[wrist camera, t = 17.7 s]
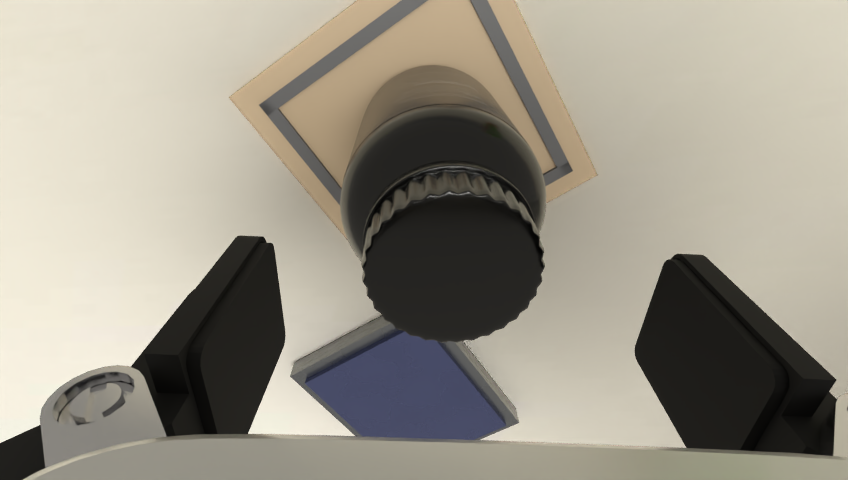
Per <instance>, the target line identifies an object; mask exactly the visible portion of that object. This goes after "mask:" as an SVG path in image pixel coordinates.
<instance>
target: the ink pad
mask: <svg viewBox="0 0 848 480" xmlns="http://www.w3.org/2000/svg"><path fill="white" fill-rule="evenodd" d="M290 377H291V378H293V379H294V380H295V381H296V382H297V383H298V384H299V385H300V386H301V387H302V388H304V389H305V390H306V391H307V392H308V393H309V394H310V395H311V396H312V397H313V398H314V399H316V400H317V401H318V402H319V403H320V404H321V405H322V406H323V407H324V408H325V409H327V410H328V411H329V412H330V413H331V414H332V415H333V416H334V417H335V418H336V419H338V420H339V421H340V422H341V423H342V424H343V425H344V426H345V427H346V428H347V429H349V430H350V431H351V432H352V433H353V434H354V435H355V436H360V437H393V438H427V439H458V440H480V439H482V438H485V437H487V436H489V435H492V434H494V433H496V432H499V431H501V430H503V429H506V428H508V427H510V426H513V425H515V424H517V423H519V420H518V416H517V412H516V408H515V407H514V406H513V405H512V403H511V402H510V401H509V399H508V398H507V397H506V396H505V394H504V393H503V392H502V391H501V389H500V388H499V387H498V386H497V384H496V383H495V382H494V380H493V379H492V378H491V377H490V375H489V374H488V373H487V372H486V370H485V369H484V368H483V366H482V365H481V364H480V363H479V361H478V360H477V359H476V358H475V356H474V355H473V354H472V353H471V351H470V350H469V349H468V347H467V346H466V345H465V344H464V342H463V341H461V342H452V341H447V342H442V343H441V342H438V341H435V340H424V339H422V338H420V337H418V336H410V335H409V334H407V333H406V332H405V331H403V330H399V329H396V328H395V327H394V325H393V324H392V323H390V322H388V321H386V320H384V318H383V316H380V317H378V318H376V319H375V320H373V321H371V322H369V323H367V324H365V325H363V326H362V327H360V328H358V329H356V330H354V331H352V332H350V333H349V334H347V335H345V336H343V337H341V338H339V339H337V340H336V341H334V342H332V343H330V344H328V345H326V346H324V347H322V348H321V349H319V350H317V351H315V352H313V353H311V354H309V355H308V356H306V357H304V358H302V359H300V360H298V361H296V362H295V363H294V366H293V369H292V372H291V375H290Z"/></svg>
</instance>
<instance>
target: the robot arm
mask: <svg viewBox="0 0 848 480" xmlns="http://www.w3.org/2000/svg"><path fill="white" fill-rule="evenodd" d="M284 343H285V326H284V319H283V311H282V304H281V296H280V289H279V281H278V274H277V266H276V259H275V251H274V246H273V244H272V243H266V240H265V238H264V237H258V236H237V237H236V238H235V240H234V241H233V242H232V243H231V245H230V246H229V247H228V248H227V250H226V251H225V252H224V253H223V255H222V256H221V257H220V258H219V260H218V261H217V262H216V263H215V265H214V266H213V267H212V268H211V270H210V271H209V272H208V274H207V275H206V276H205V277H204V279H203V280H202V281H201V282H200V284H199V285H198V286H197V287H196V289H194V290H193V291H192V292H191V293H190V294H189V295H188V296H187V297H186V299H185V300H184V301H183V302H182V304H181V305H180V306H179V307H178V309H177V310H176V311H175V312H174V314H173V315H172V316H171V317H170V319H169V320H168V321H167V322H166V324H165V325H164V326H163V327H162V329H161V330H160V331H159V332H158V334H157V335H156V336H155V337H154V339H153V340H152V341H151V342H150V344H149V345H148V346H147V347H146V349H145V350H144V351H143V352H142V354H141V355H140V356H139V357H138V359H137V360H136V361H135V362H134V364H133V365H132V366H131V367H129V366H120V365H117V366H108V367H102V368H98V369H95V370H92V371H88V372H86V373H84V374H82V375H79V376H77V377H75V378H73V379H72V380H70V381H68V382H67V383H65V384H64V385H62V386H61V387H59V388H58V389H57V390H56V391H55V392H54V393H53V394H52V395H51V396H50V397H49V398H48V399H47V401H46V403H45V404H44V406H43V407H42V410H41V415H40V424H41V425H39V426H37V427H35V428H33V429H30V430H28V431H26V432H24V433H22V434H19V435H17V436H15V437H13V438H11V439H8V440H6V441H4V442H2V443H0V480H848V393H846V394H844V395H842V396H839V397H838V399H836V398H835V397H834V396H833V395H832V394H831V393H830V392H829V390H830V389H831V387H832V386H833V384H834V383H835V381H836V379H835V378H834V377H833V376H832V375H831V374H830V373H829V372H827V371H826V370H825V369H824V368H823V367H822V366H821V365H820V364H819V363H818V362H817V361H816V360H815V359H814V358H813V357H812V356H810V355H809V354H808V353H807V352H806V351H805V350H804V349H803V348H802V347H801V346H800V345H799V344H798V343H797V342H796V341H795V340H793V339H792V338H791V337H790V336H789V335H788V334H787V333H786V332H785V331H784V330H783V329H782V328H781V327H780V326H779V325H778V324H776V323H775V322H774V321H773V320H772V319H771V318H770V317H769V316H768V315H767V314H766V313H765V312H764V311H763V310H762V309H761V308H759V307H758V306H757V305H756V304H755V303H754V302H753V301H752V300H751V299H750V298H749V297H748V296H747V295H746V294H745V293H744V292H742V291H741V290H740V289H739V288H738V287H737V286H736V285H735V284H734V283H733V282H732V281H731V280H730V279H729V278H728V277H727V276H725V275H724V274H723V273H722V272H721V271H720V270H719V269H718V268H717V267H716V266H715V265H714V264H713V263H712V262H711V261H710V260H708V259H707V258H706V257H705V256H703V255H691V254H676V255H674V256H673V257H672V258H671V260H667V261H666V262H665V263H664V265H663V267H662V270H661V273H660V276H659V279H658V282H657V285H656V288H655V290H654V293H653V296H652V299H651V302H650V305H649V308H648V311H647V313H646V316H645V319H644V322H643V325H642V328H641V331H640V334H639V336H638V339H637V342H636V345H635V356H636V360H637V362H638V364H639V365H640V367H641V369H642V371H643V372H644V374H645V376H646V378H647V379H648V381H649V383H650V385H651V386H652V388H653V390H654V392H655V393H656V395H657V397H658V399H659V400H660V402H661V404H662V406H663V407H664V409H665V411H666V413H667V414H668V416H669V418H670V420H671V421H672V423H673V425H674V427H675V428H676V430H677V432H678V434H679V435H680V437H681V439H682V441H683V442H684V444H685V446H686V448H671V447H647V446H623V445H598V444H571V443H544V442H516V441H487V440H458V439H427V438H393V437H360V436H327V435H285V434H248V432H249V429H250V427H251V425H252V422H253V420H254V417H255V415H256V412H257V410H258V408H259V405H260V403H261V400H262V398H263V395H264V393H265V391H266V388H267V386H268V383H269V381H270V378H271V376H272V374H273V371H274V369H275V366H276V364H277V361H278V359H279V357H280V354H281V352H282V349H283V347H284Z"/></svg>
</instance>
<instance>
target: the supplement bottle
mask: <svg viewBox="0 0 848 480" xmlns="http://www.w3.org/2000/svg"><path fill="white" fill-rule="evenodd" d="M545 211H546V187H545V181H544V176H543V173H542V170H541V167H540V165H539V163H538V161H537V158H536V156H535V155H534V153H533V151H532V149H531V148H530V146H529V144H528V143H527V142H526V140H525V139H524V138H523V136H522V135H521V134H520V132H519V131H518V130H517V128H516V127H515V126H514V124H513V123H512V122H511V120H510V119H509V118H508V116H507V115H506V114H505V112H504V111H503V109H502V108H501V107H500V105H499V104H498V103H497V101H496V100H495V99H494V98H493V96H492V95H491V94H490V93H489V91H488V90H487V89H486V88H485V87H484V86H483V85H482V84H481V83H480V82H478V81H477V80H476V79H474V78H473V77H472V76H470V75H468V74H466V73H464V72H462V71H460V70H457V69H454V68H451V67H446V66H439V65H427V66H419V67H415V68H412V69H409V70H406V71H404V72H402V73H400V74H398V75H396V76H394V77H393V78H391V79H390V80H389V81H388V82H386V83H385V84H384V85H383V86H382V87H381V88H380V89H379V90H378V91H377V93H376V94H375V95H374V97H373V98H372V100H371V101H370V103H369V105H368V107H367V109H366V111H365V114H364V116H363V119H362V122H361V125H360V128H359V131H358V134H357V138H356V141H355V144H354V147H353V150H352V153H351V156H350V159H349V163H348V166H347V169H346V172H345V175H344V179H343V184H342V189H341V199H340V212H341V219H342V224H343V228H344V231H345V234H346V237H347V239H348V242H349V244H350V246H351V248H352V249H353V251H354V252H355V254H356V256H357V257H358V258H359V259H360V261H361V262H362V268H363V277H362V279H363V282H364V284H365V286H366V287H367V296H368V297H369V298H370V299H371V300H372V301H373V305H374V308H375V309H376V310H377V311H379V312H380V313H382V316H383V318H384V320H386V321H388V322H390V323H392V324H393V325H394V327H395V328H396V329H399V330H403V331H405V332H406V333H407V334H409V335H410V336H418V337H420V338H422V339H424V340H435V341H438V342H441V343H442V342H447V341H452V342H461V341H463V340H475V339H477V338H478V337H480V336H487V335H490V334H491V333H492V332H494V331H495V330H499V329H502V328H504V327H505V326H506V325H507V324H508V323H509V322H511V321H513V320H515V319H517V317H518V316H519V314H520V313H521V312H522V311H524V310H525V309H527V308H528V305H529V302H530V301H531V300H532V299H533V298H534V297H535V296H536V293H537V287H538V286H539V285H540V284H541V282H542V276H541V273H542V271H543V269H544V267H545V264H544V261H543V259H542V258H543V253H544V248H543V246H542V244H541V242H540V236H539V233H540V231H541V228H542V225H543V221H544V217H545Z"/></svg>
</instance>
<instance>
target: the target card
mask: <svg viewBox="0 0 848 480" xmlns="http://www.w3.org/2000/svg"><path fill="white" fill-rule="evenodd" d="M427 65H439V66H446V67H451V68H454V69H457V70H460V71H462V72H464V73H466V74H468V75H470V76H472V77H473V78H474V79H476V80H477V81H478V82H480V83H481V84H482V85H483V86H484V87H485V88H486V89H487V90H488V91H489V93H490V94H491V95H492V96H493V98H494V99H495V100H496V101H497V103H498V104H499V105H500V107H501V108H502V109H503V111H504V112H505V114H506V115H507V116H508V118H509V119H510V120H511V122H512V123H513V124H514V126H515V127H516V128H517V130H518V131H519V132H520V134H521V135H522V136H523V138H524V139H525V140H526V142H527V143H528V144H529V146H530V148H531V149H532V151H533V153H534V155H535V156H536V158H537V161H538V163H539V165H540V167H541V170H542V173H543V176H544V181H545V187H546V203H548V202H550V201H551V200H553V199H555V198H557V197H559V196H560V195H562V194H564V193H566V192H568V191H569V190H571V189H573V188H575V187H577V186H579V185H580V184H582V183H584V182H586V181H588V180H589V179H591V178H593V177H595V176H597V173H596V171H595V169H594V166H593V164H592V162H591V160H590V158H589V156H588V154H587V152H586V150H585V148H584V145H583V143H582V141H581V139H580V137H579V135H578V133H577V131H576V129H575V126H574V124H573V122H572V120H571V118H570V116H569V114H568V112H567V110H566V108H565V105H564V103H563V101H562V99H561V97H560V95H559V93H558V91H557V89H556V86H555V84H554V82H553V80H552V78H551V76H550V74H549V72H548V70H547V67H546V65H545V63H544V61H543V59H542V57H541V55H540V53H539V51H538V49H537V46H536V44H535V42H534V40H533V38H532V36H531V34H530V32H529V30H528V27H527V25H526V23H525V21H524V19H523V17H522V15H521V13H520V11H519V9H518V6H517V4H516V2H515V0H357V1H356V2H355V3H353V4H352V5H351V6H349V7H348V8H347V9H345V10H344V11H343V12H341V13H340V14H339V15H337V16H336V17H335V18H333V19H332V20H331V21H329V22H328V23H327V24H325V25H324V26H323V27H321V28H320V29H319V30H317V31H316V32H315V33H313V34H312V35H311V36H310V37H308V38H307V39H306V40H304V41H303V42H302V43H300V44H299V45H298V46H296V47H295V48H294V49H292V50H291V51H290V52H288V53H287V54H286V55H284V56H283V57H282V58H280V59H279V60H278V61H276V62H275V63H274V64H272V65H271V66H270V67H268V68H267V69H266V70H264V71H263V72H262V73H261V74H259V75H258V76H257V77H255V78H254V79H253V80H251V81H250V82H249V83H247V84H246V85H245V86H243V87H242V88H241V89H239V90H238V91H237V92H235V93H234V94H233V95H231V96H230V97H229V98H230V100H231V101H232V102H233V103H234V104H235V106H236V107H237V108H238V109H239V110H240V112H241V113H242V114H243V115H244V116H245V118H246V119H247V120H248V121H249V122H250V124H251V125H252V126H253V127H254V128H255V130H256V131H257V132H258V133H259V134H260V136H261V137H262V138H263V139H264V140H265V142H266V143H267V144H268V145H269V146H270V148H271V149H272V150H273V151H274V152H275V154H276V155H277V156H278V157H279V158H280V160H281V161H282V162H283V163H284V164H285V166H286V167H287V168H288V169H289V170H290V172H291V173H292V174H293V175H294V176H295V178H296V179H297V180H298V181H299V182H300V184H301V185H302V186H303V187H304V188H305V190H306V191H307V192H308V193H309V194H310V196H311V197H312V198H313V199H314V200H315V202H316V203H317V204H318V205H319V206H320V208H321V209H322V210H323V211H324V212H325V214H326V215H327V216H328V217H329V218H330V220H331V221H332V222H333V223H334V224H335V226H336V227H337V228H338V229H339V230H340V232H341V233H342V234H343V235H344V236H345V238H346V239H347V237H346V234H345V231H344V228H343V224H342V219H341V212H340V199H341V189H342V184H343V179H344V175H345V172H346V169H347V166H348V163H349V159H350V156H351V153H352V150H353V147H354V144H355V141H356V138H357V134H358V131H359V128H360V125H361V122H362V119H363V116H364V114H365V111H366V109H367V107H368V105H369V103H370V101H371V100H372V98H373V97H374V95H375V94H376V93H377V91H378V90H379V89H380V88H381V87H382V86H383V85H384V84H385V83H386V82H388V81H389V80H390V79H391V78H393V77H394V76H396V75H398V74H400V73H402V72H404V71H406V70H409V69H412V68H415V67H419V66H427ZM347 240H348V239H347Z"/></svg>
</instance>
